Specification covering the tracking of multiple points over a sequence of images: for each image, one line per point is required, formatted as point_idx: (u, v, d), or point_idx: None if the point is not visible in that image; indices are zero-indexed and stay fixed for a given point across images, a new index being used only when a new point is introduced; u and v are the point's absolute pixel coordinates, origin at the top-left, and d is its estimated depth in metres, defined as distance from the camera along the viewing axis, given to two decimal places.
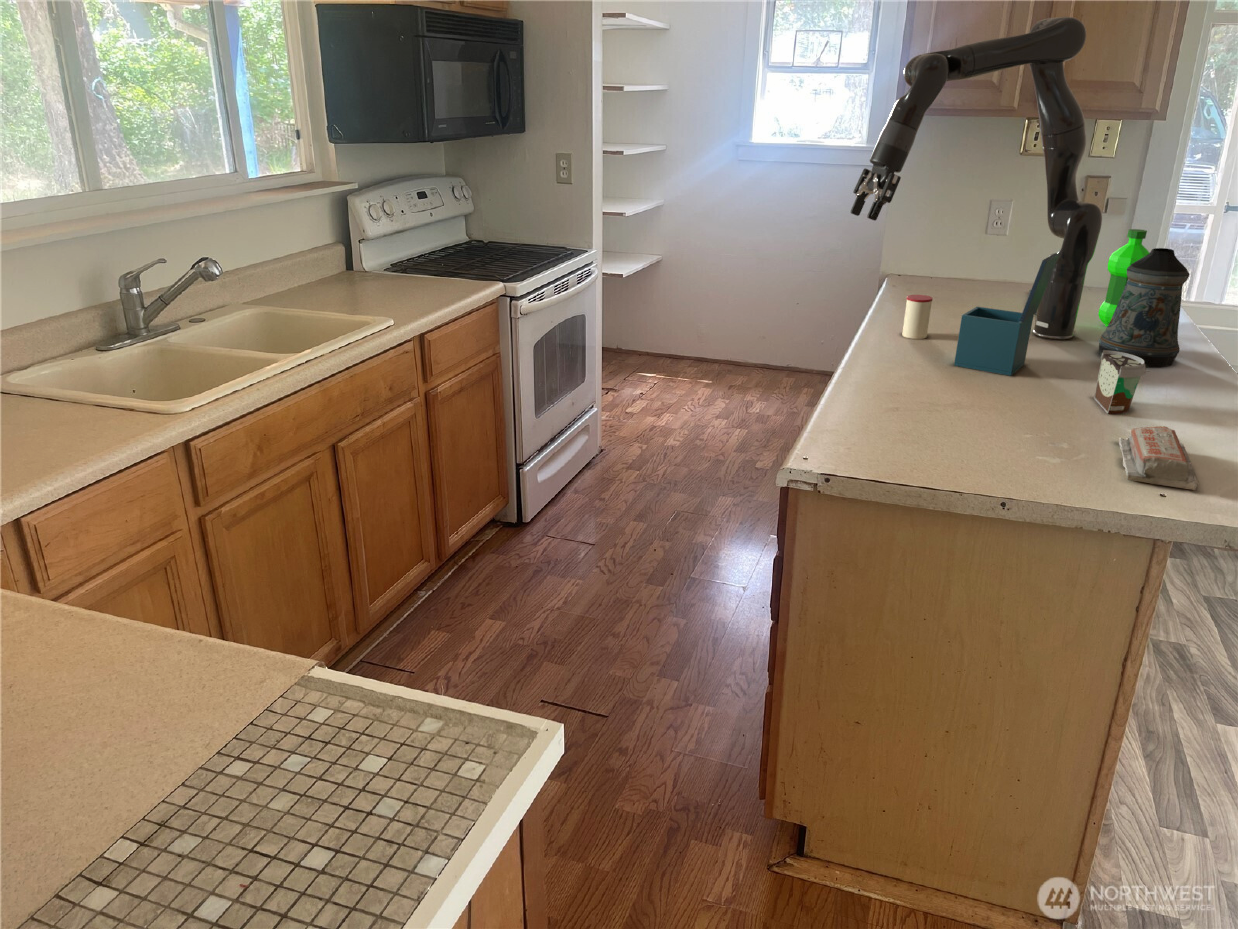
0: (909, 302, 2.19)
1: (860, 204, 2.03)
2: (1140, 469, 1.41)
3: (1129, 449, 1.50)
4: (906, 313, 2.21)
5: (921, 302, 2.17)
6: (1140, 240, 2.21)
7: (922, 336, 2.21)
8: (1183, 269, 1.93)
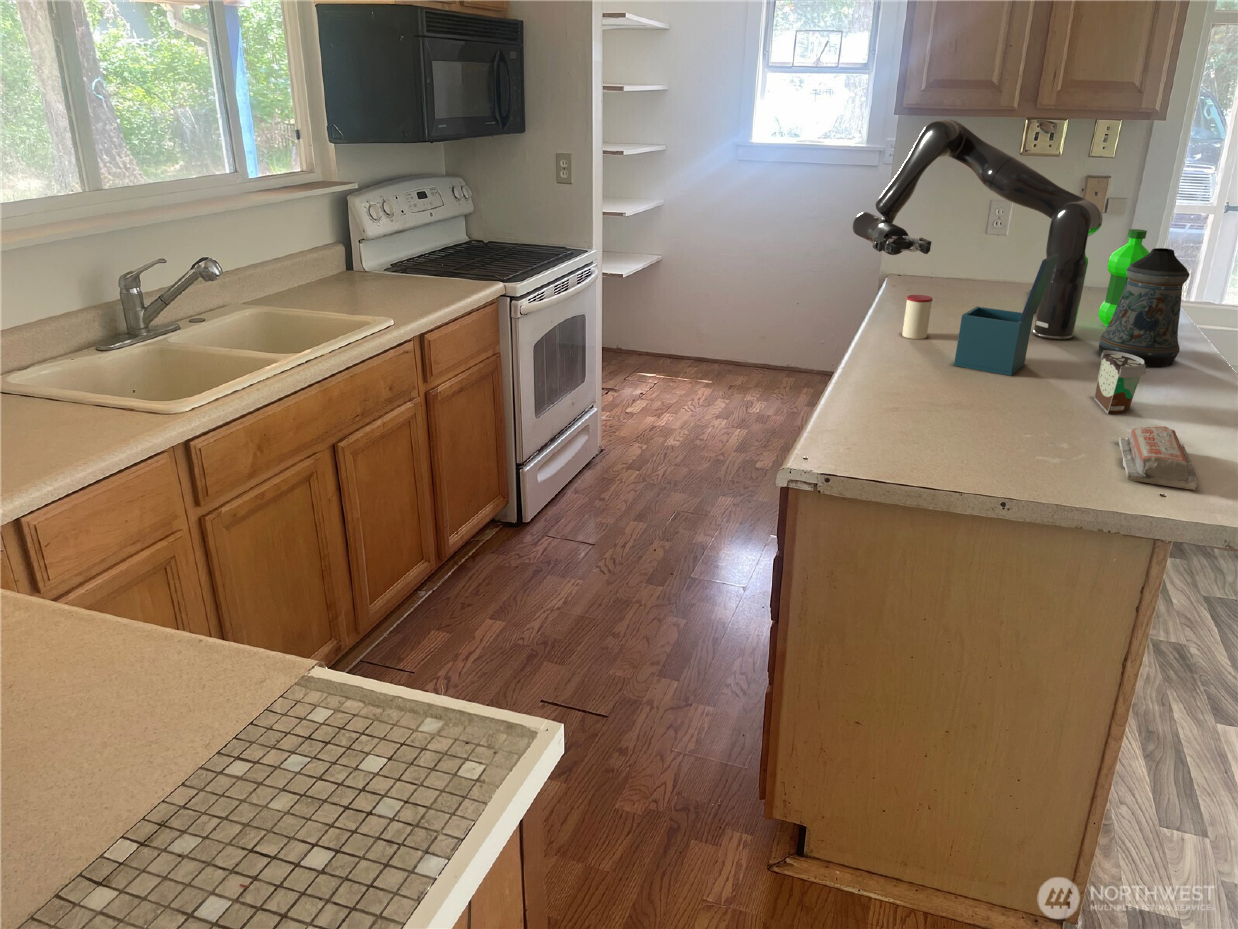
0: (909, 302, 2.19)
1: (922, 247, 2.27)
2: (1140, 469, 1.41)
3: (1129, 449, 1.50)
4: (906, 313, 2.21)
5: (921, 302, 2.17)
6: (1140, 240, 2.21)
7: (922, 336, 2.21)
8: (1183, 269, 1.93)
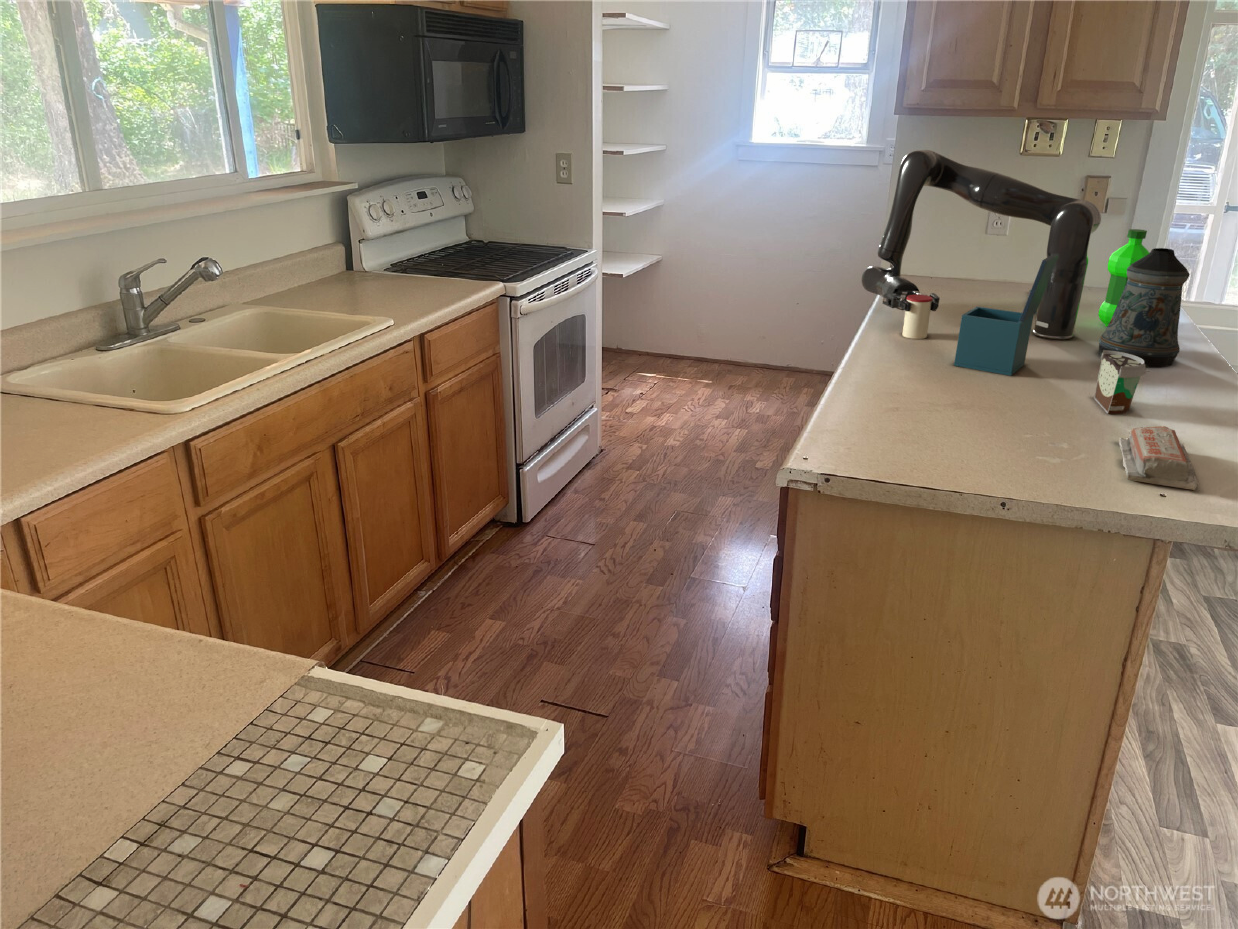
0: None
1: None
2: (1140, 469, 1.41)
3: (1129, 449, 1.50)
4: (906, 313, 2.21)
5: (920, 302, 2.17)
6: (1140, 240, 2.21)
7: (922, 336, 2.21)
8: (1183, 269, 1.93)
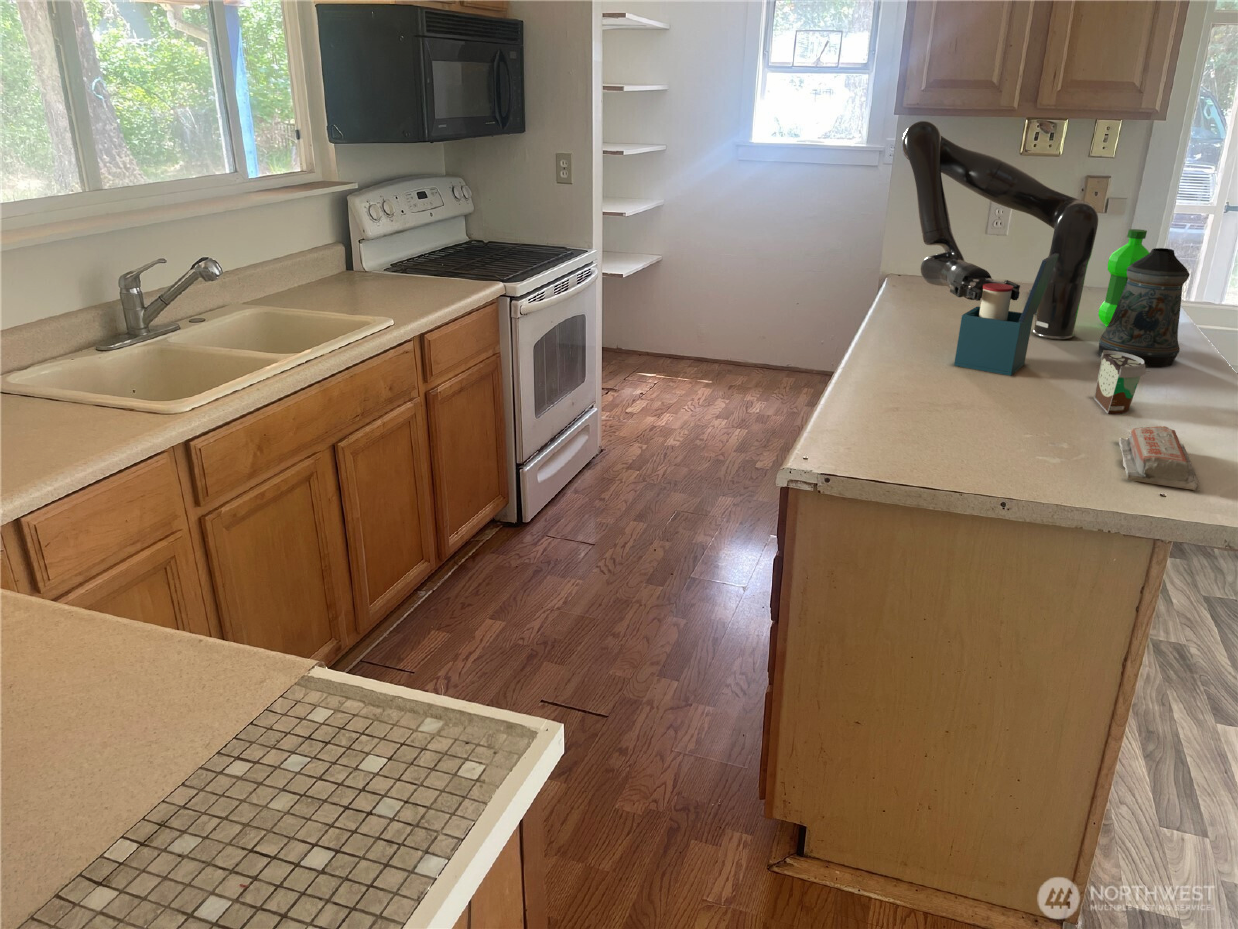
0: (987, 292, 1.93)
1: None
2: (1140, 469, 1.41)
3: (1129, 449, 1.50)
4: (982, 304, 1.95)
5: (1000, 291, 1.92)
6: (1140, 240, 2.21)
7: None
8: (1183, 269, 1.93)
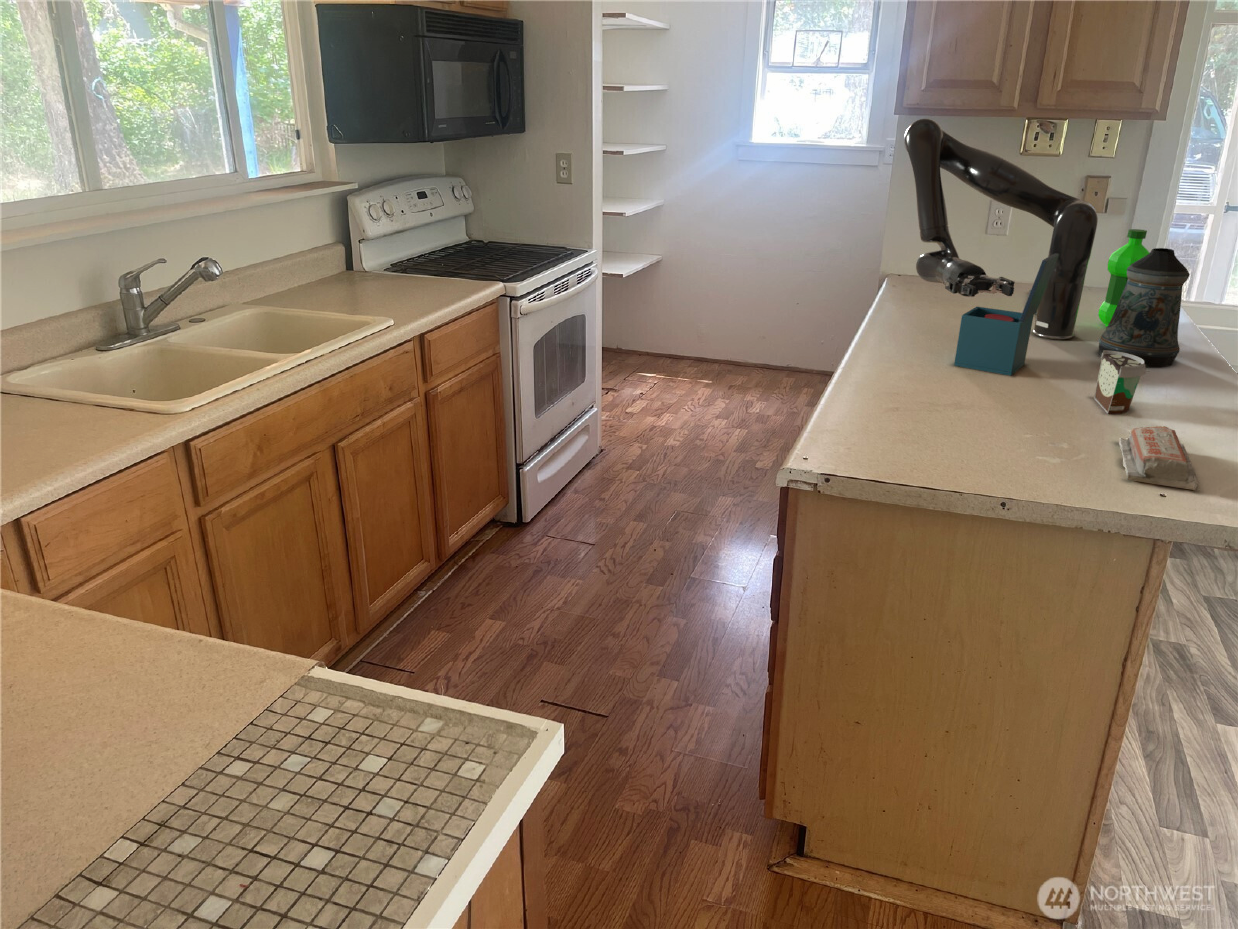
0: None
1: (1004, 288, 1.98)
2: (1140, 469, 1.41)
3: (1129, 449, 1.50)
4: None
5: None
6: (1140, 240, 2.21)
7: None
8: (1183, 269, 1.93)
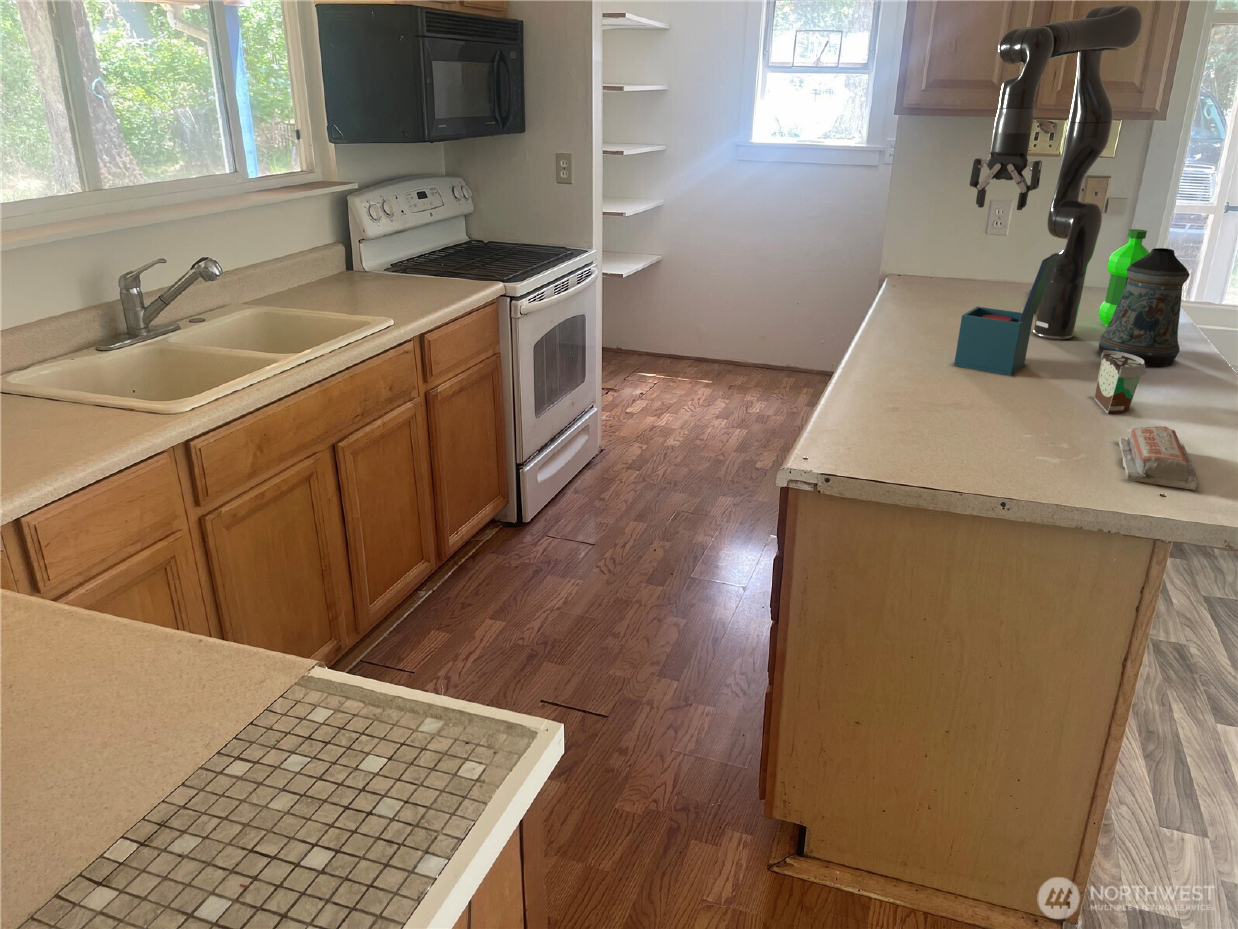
0: None
1: (984, 195, 1.95)
2: (1140, 469, 1.41)
3: (1129, 449, 1.50)
4: None
5: None
6: (1140, 240, 2.21)
7: None
8: (1183, 269, 1.93)
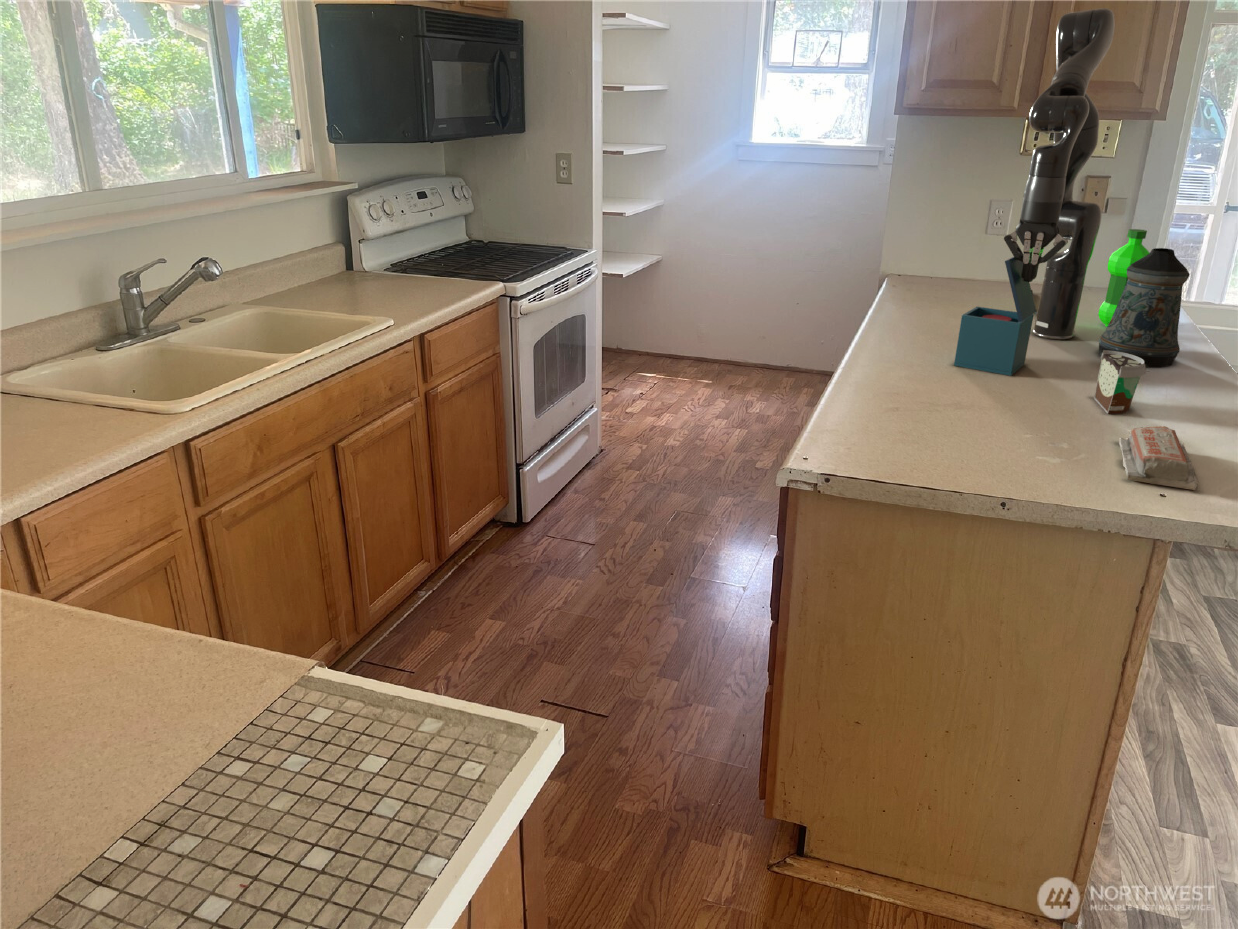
0: None
1: None
2: (1140, 469, 1.41)
3: (1129, 449, 1.50)
4: None
5: None
6: (1140, 240, 2.21)
7: None
8: (1183, 269, 1.93)
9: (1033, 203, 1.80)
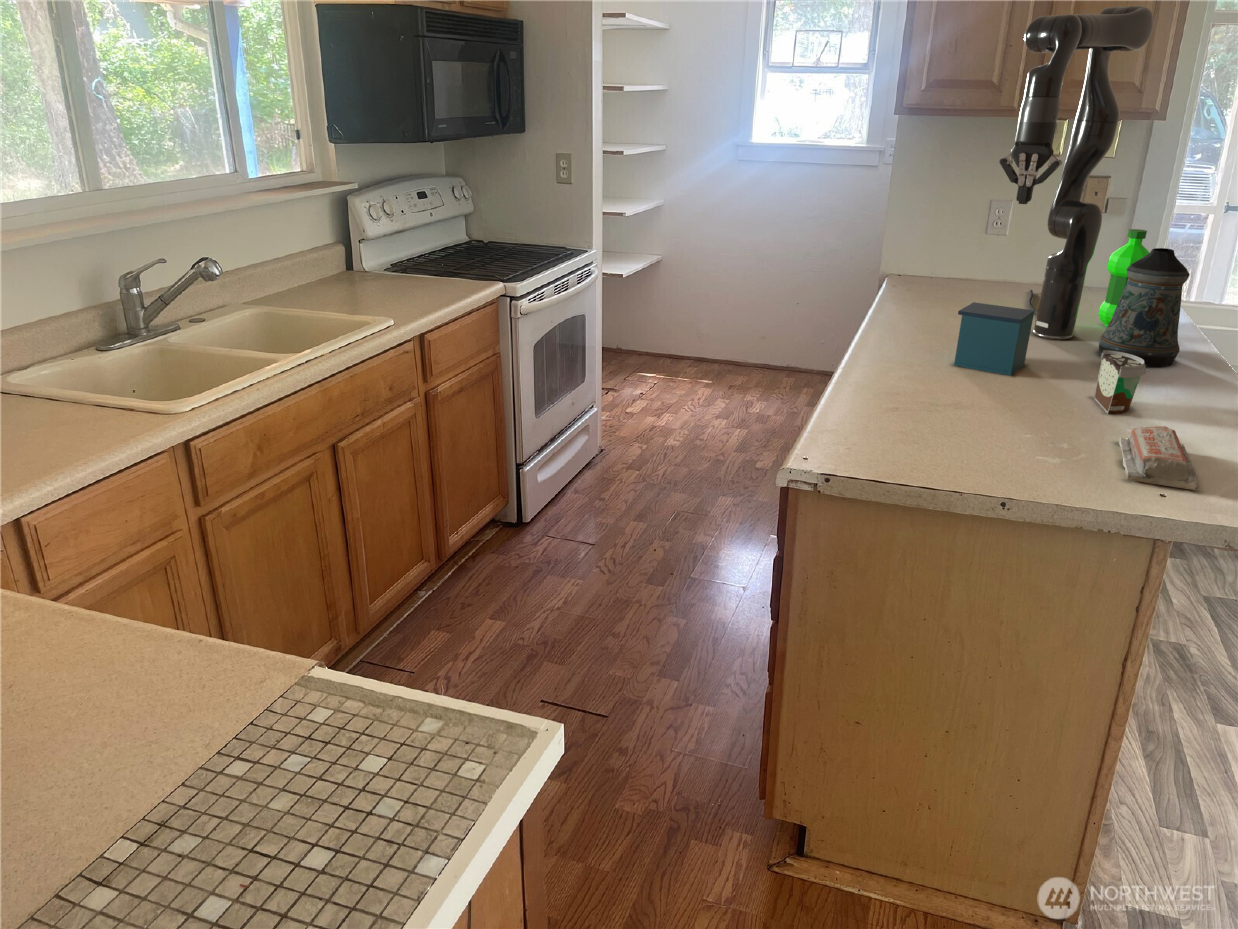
0: None
1: None
2: (1140, 469, 1.41)
3: (1129, 449, 1.50)
4: None
5: None
6: (1140, 240, 2.21)
7: None
8: (1183, 269, 1.93)
9: (1028, 123, 1.84)
